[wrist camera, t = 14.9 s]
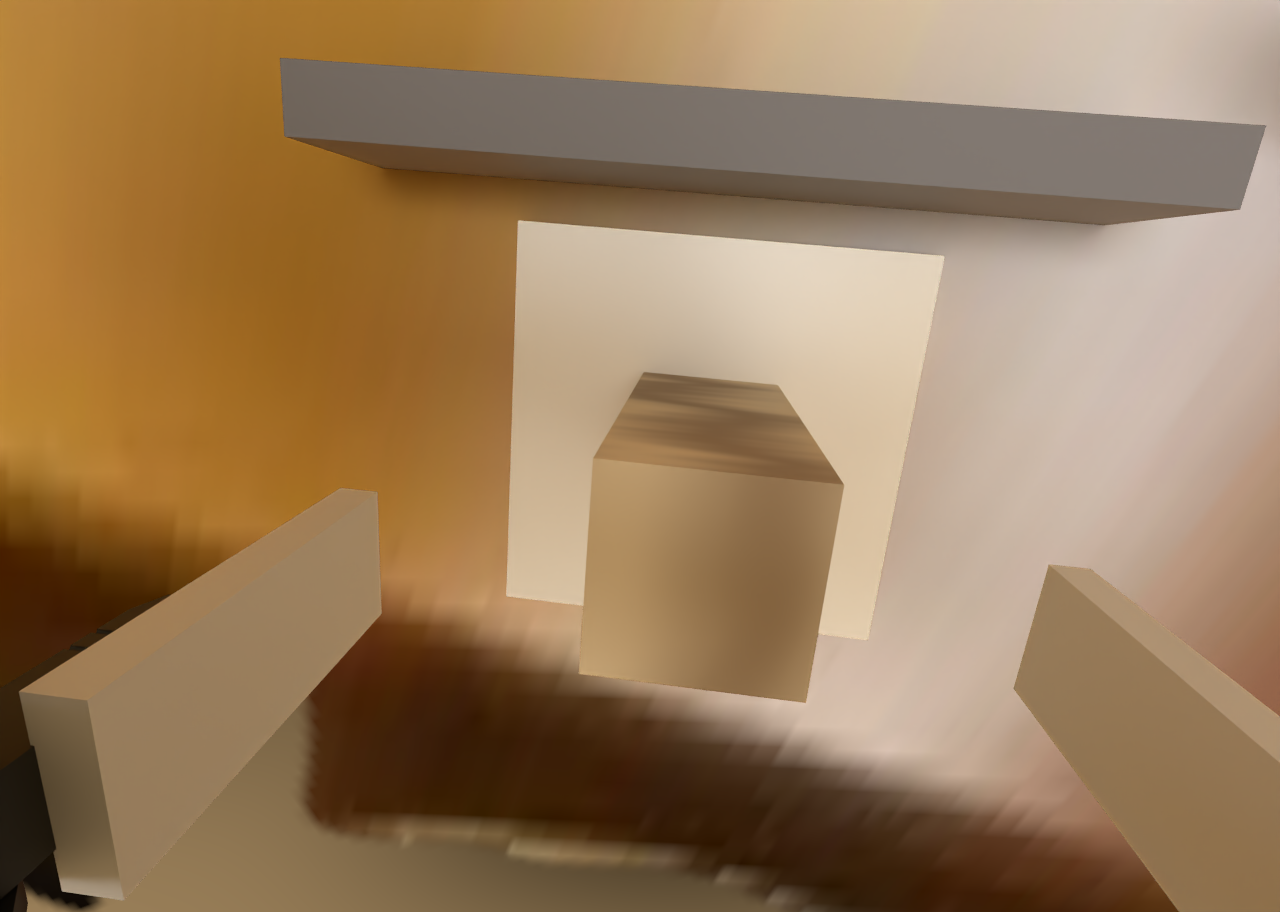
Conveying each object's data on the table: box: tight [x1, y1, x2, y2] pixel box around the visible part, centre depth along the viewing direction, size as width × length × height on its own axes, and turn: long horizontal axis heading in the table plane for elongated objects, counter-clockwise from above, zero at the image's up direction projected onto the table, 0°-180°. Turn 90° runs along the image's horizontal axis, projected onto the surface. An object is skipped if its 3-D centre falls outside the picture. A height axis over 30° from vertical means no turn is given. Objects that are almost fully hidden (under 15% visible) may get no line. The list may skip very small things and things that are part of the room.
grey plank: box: [280, 58, 1266, 225], centre depth 21 cm, size 26×2×6 cm, turn 85°
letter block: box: [579, 372, 844, 703], centre depth 20 cm, size 5×5×12 cm
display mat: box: [506, 220, 945, 640], centre depth 26 cm, size 15×15×1 cm
